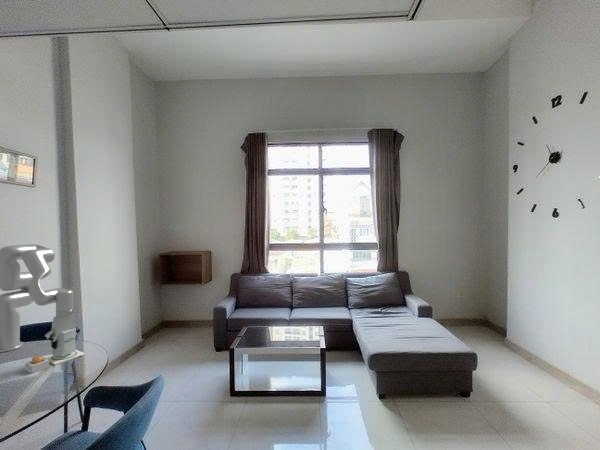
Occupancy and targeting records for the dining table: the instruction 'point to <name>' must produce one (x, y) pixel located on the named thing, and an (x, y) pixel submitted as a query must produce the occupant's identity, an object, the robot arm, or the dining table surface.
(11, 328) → the robot arm
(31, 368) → the button housing
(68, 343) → the supplement box
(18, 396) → the dining table surface
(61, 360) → the picture board
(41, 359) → the button
